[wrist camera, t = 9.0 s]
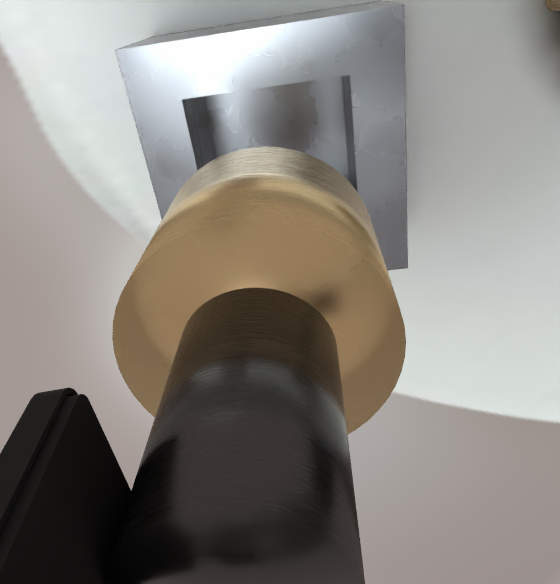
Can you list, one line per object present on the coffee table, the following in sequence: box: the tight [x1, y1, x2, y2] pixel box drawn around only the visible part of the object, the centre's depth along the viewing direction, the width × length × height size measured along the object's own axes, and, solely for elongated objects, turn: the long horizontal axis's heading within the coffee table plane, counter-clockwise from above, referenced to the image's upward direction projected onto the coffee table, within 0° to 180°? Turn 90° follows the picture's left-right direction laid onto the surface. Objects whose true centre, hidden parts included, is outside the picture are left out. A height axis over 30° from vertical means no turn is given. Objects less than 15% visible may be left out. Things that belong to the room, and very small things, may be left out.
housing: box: [115, 1, 408, 270], centre depth 29 cm, size 13×13×7 cm
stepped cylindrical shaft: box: [105, 147, 406, 584], centre depth 13 cm, size 7×7×12 cm
